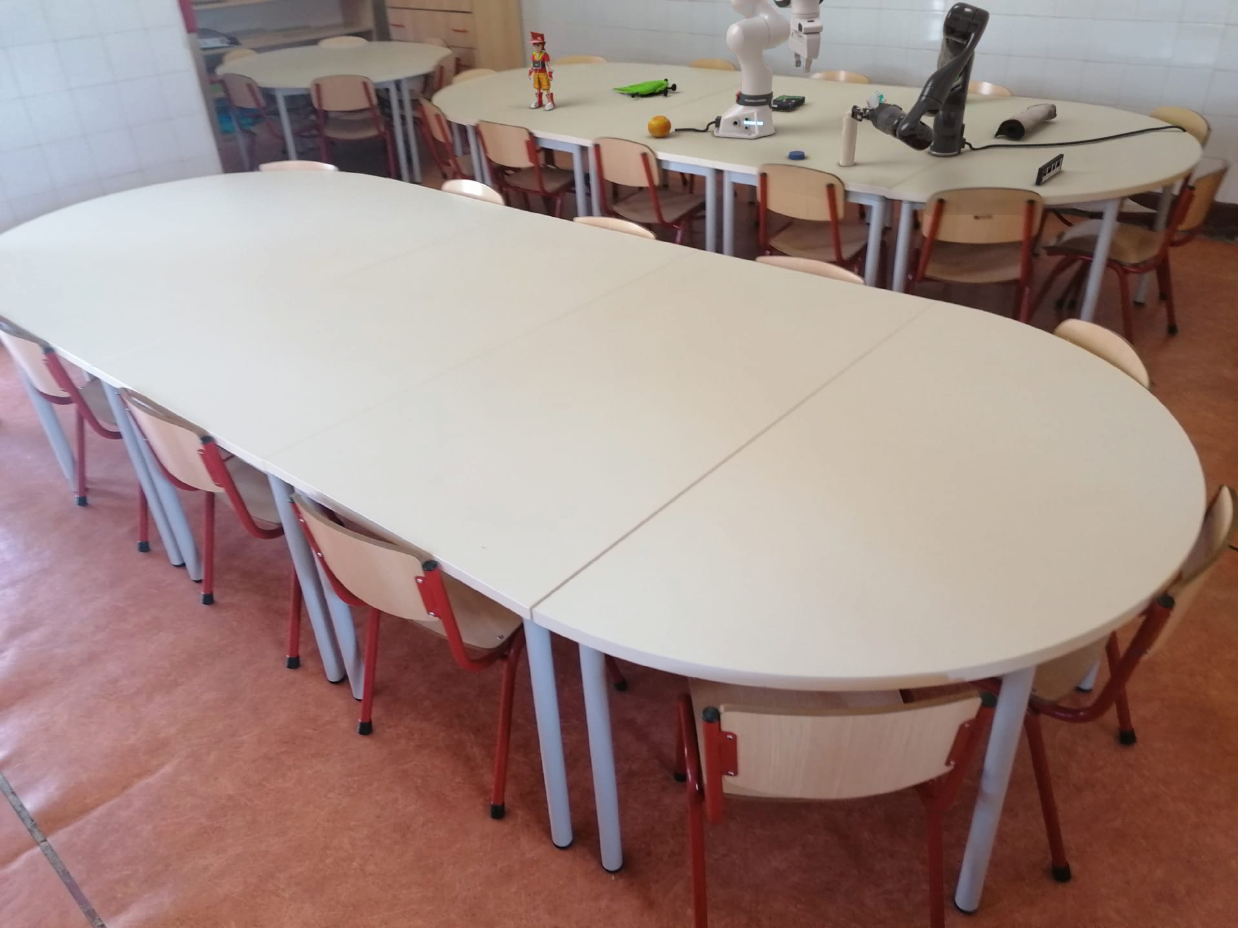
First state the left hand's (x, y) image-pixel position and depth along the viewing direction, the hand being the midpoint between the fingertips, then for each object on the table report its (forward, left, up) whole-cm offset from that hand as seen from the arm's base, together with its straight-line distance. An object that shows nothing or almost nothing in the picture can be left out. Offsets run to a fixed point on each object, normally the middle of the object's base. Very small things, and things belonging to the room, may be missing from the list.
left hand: (801, 69), depth 289 cm
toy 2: (-76, +94, -28) cm, 124 cm away
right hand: (+21, -16, -8) cm, 28 cm away
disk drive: (-10, +69, -28) cm, 75 cm away
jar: (+17, -6, -28) cm, 33 cm away
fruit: (-53, +24, -28) cm, 65 cm away
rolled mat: (+77, +38, -28) cm, 91 cm away
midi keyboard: (+78, -17, -28) cm, 84 cm away
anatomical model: (+27, +53, -28) cm, 66 cm away
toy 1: (-112, +66, -28) cm, 133 cm away
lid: (0, 0, -27) cm, 27 cm away
